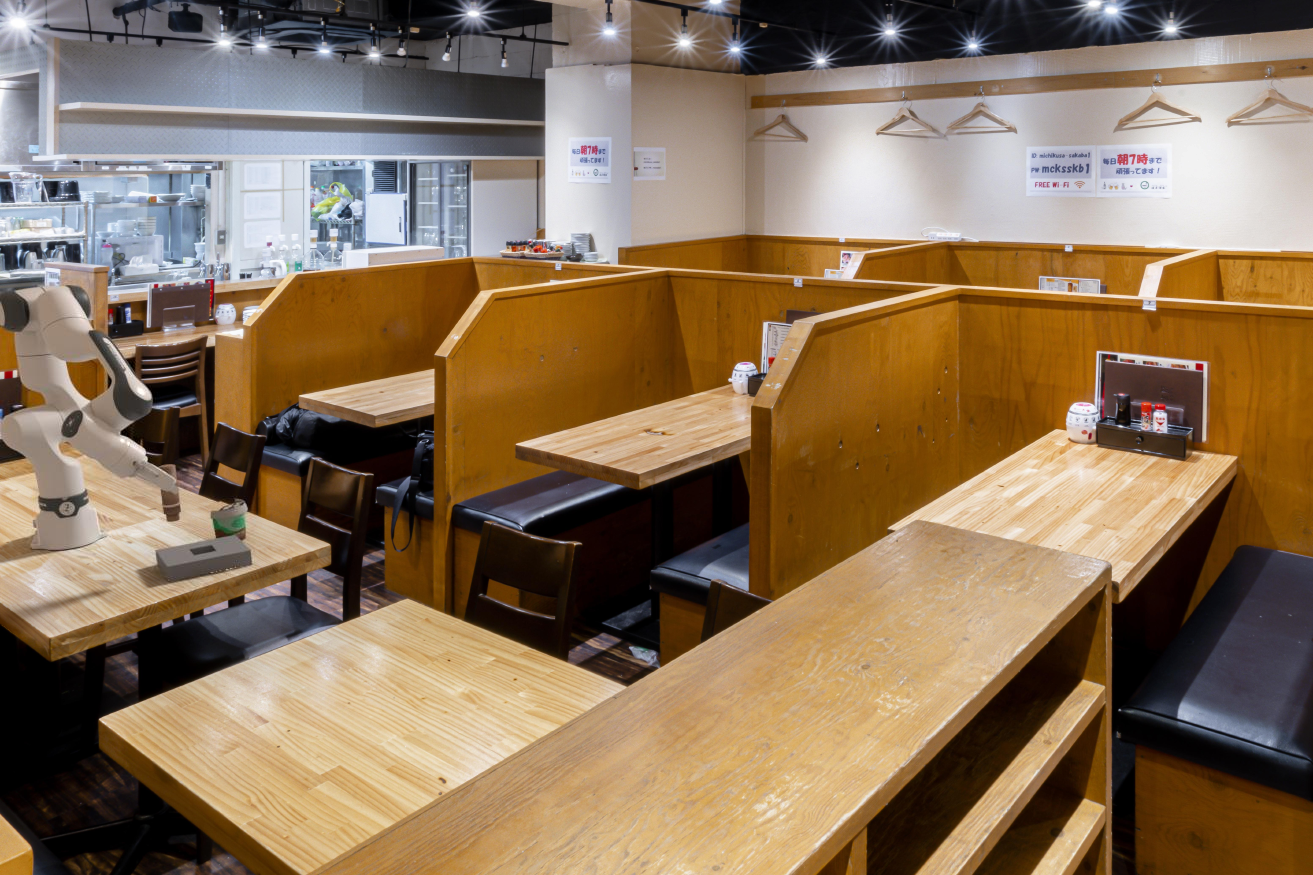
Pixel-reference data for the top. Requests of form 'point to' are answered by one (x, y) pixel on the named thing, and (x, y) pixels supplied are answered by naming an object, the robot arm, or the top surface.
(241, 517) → the food container
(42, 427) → the robot arm
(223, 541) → the board
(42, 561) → the top surface
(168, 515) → the peg
